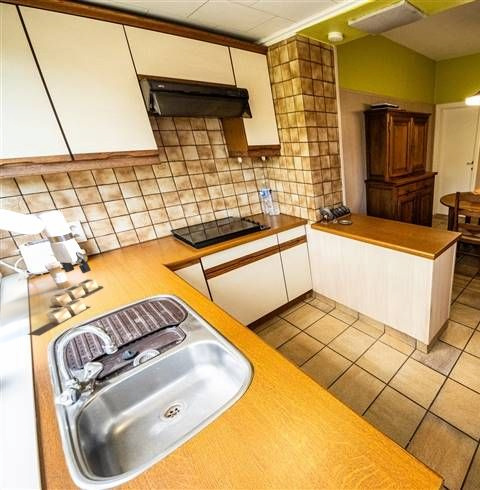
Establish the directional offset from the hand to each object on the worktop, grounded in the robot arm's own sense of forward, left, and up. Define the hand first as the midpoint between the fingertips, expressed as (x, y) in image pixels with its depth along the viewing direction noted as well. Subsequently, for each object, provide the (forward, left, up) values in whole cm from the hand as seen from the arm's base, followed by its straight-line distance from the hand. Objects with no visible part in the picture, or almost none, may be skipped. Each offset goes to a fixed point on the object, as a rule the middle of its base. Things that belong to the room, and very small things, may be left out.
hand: (78, 271), depth 126 cm
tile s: (+1, 0, -10) cm, 10 cm away
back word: (-5, 0, -12) cm, 13 cm away
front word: (-20, -14, -12) cm, 27 cm away
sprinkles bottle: (+3, +20, -12) cm, 23 cm away
